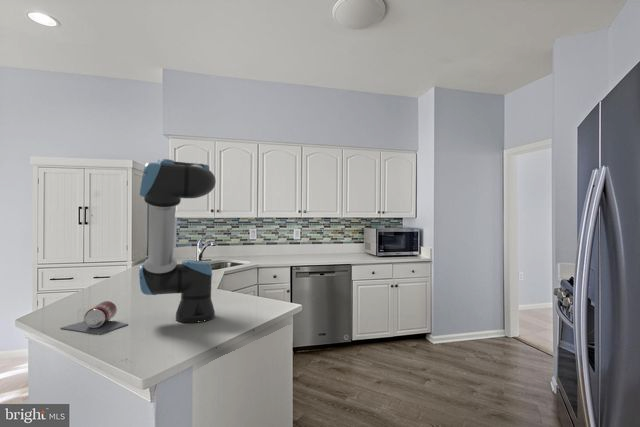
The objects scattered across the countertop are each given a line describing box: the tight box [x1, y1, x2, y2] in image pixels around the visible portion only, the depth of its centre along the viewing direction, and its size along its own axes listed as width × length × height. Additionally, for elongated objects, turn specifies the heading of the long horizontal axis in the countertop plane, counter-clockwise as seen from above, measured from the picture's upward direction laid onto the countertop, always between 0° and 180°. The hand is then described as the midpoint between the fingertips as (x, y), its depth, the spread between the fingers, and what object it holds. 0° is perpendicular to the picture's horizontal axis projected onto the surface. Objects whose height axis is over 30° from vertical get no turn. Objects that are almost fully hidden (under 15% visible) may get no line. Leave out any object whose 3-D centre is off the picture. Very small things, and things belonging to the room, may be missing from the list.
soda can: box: [83, 300, 118, 328], centre depth 127 cm, size 7×7×12 cm
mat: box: [60, 320, 129, 336], centre depth 124 cm, size 18×12×1 cm, turn 74°
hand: (163, 242), depth 159 cm, fingers closed
